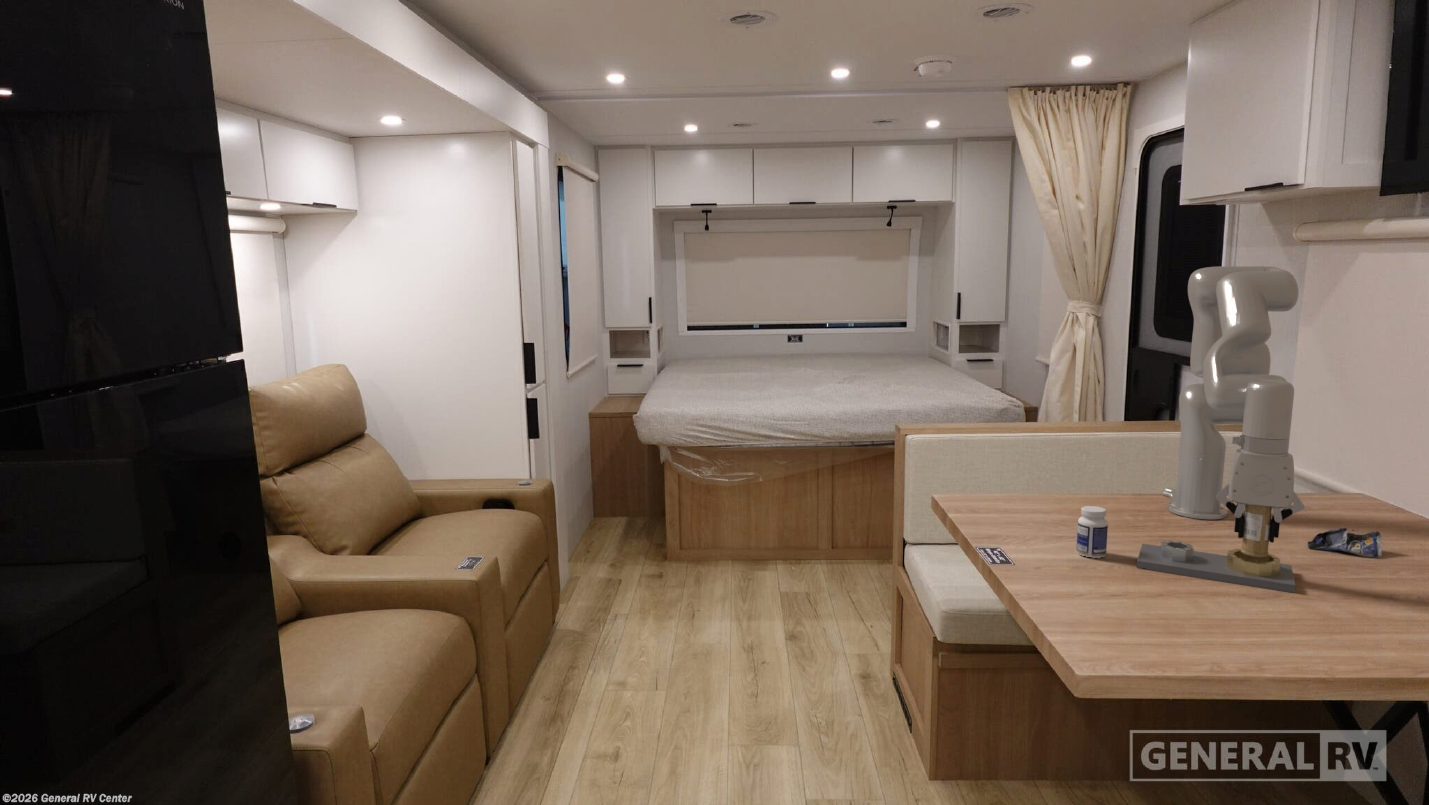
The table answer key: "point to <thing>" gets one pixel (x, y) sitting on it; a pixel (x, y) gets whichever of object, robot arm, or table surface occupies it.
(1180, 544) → the steel collar
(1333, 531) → the snack package
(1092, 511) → the pill bottle
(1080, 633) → the table surface
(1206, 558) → the mounting board
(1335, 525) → the table surface
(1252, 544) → the sprinkles bottle
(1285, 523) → the table surface
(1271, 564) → the brass collar
